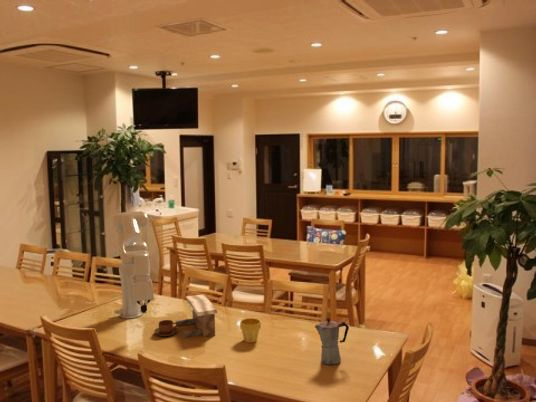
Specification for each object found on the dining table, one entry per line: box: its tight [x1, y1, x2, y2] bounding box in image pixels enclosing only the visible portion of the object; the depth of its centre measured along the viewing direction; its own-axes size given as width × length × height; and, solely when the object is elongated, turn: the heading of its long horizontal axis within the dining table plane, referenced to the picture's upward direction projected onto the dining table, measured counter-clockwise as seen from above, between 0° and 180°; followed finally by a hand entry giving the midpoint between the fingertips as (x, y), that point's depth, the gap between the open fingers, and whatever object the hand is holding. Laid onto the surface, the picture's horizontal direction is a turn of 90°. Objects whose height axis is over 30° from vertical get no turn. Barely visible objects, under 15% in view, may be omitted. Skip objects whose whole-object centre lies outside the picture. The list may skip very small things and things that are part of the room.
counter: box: [175, 294, 218, 338], centre depth 269 cm, size 17×28×14 cm, turn 21°
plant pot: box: [239, 317, 262, 344], centre depth 253 cm, size 10×10×10 cm
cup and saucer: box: [153, 319, 179, 337], centre depth 264 cm, size 12×12×6 cm
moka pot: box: [314, 318, 350, 366], centre depth 227 cm, size 10×15×20 cm, turn 95°
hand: (143, 312), depth 258 cm, fingers closed
